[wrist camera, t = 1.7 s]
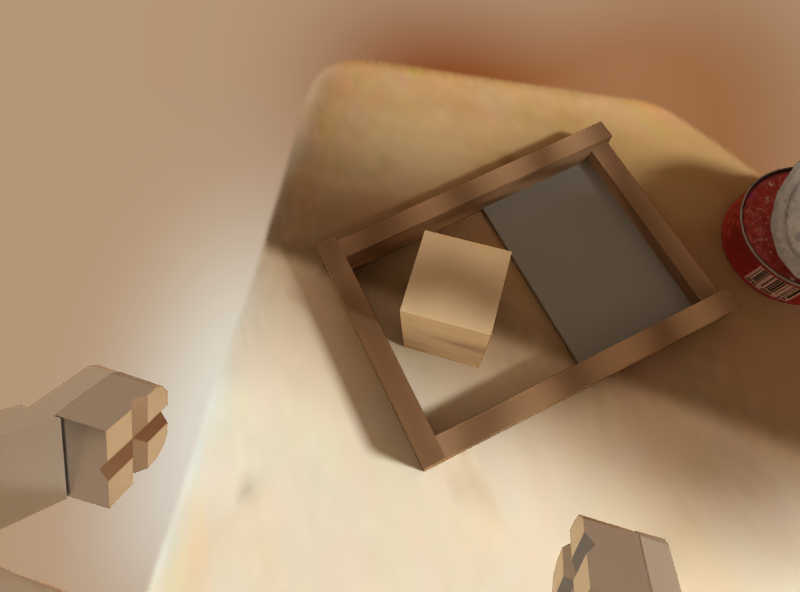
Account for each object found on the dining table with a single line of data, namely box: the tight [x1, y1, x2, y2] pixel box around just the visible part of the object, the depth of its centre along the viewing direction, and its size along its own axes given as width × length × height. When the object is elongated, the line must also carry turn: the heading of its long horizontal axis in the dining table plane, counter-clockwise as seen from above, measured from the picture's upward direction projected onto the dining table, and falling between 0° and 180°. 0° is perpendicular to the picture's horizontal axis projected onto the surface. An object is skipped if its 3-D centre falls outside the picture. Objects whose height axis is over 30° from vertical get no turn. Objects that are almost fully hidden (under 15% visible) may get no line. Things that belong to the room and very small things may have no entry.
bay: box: [315, 122, 740, 471], centre depth 40 cm, size 24×17×4 cm
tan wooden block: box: [400, 230, 512, 367], centre depth 38 cm, size 6×6×8 cm
